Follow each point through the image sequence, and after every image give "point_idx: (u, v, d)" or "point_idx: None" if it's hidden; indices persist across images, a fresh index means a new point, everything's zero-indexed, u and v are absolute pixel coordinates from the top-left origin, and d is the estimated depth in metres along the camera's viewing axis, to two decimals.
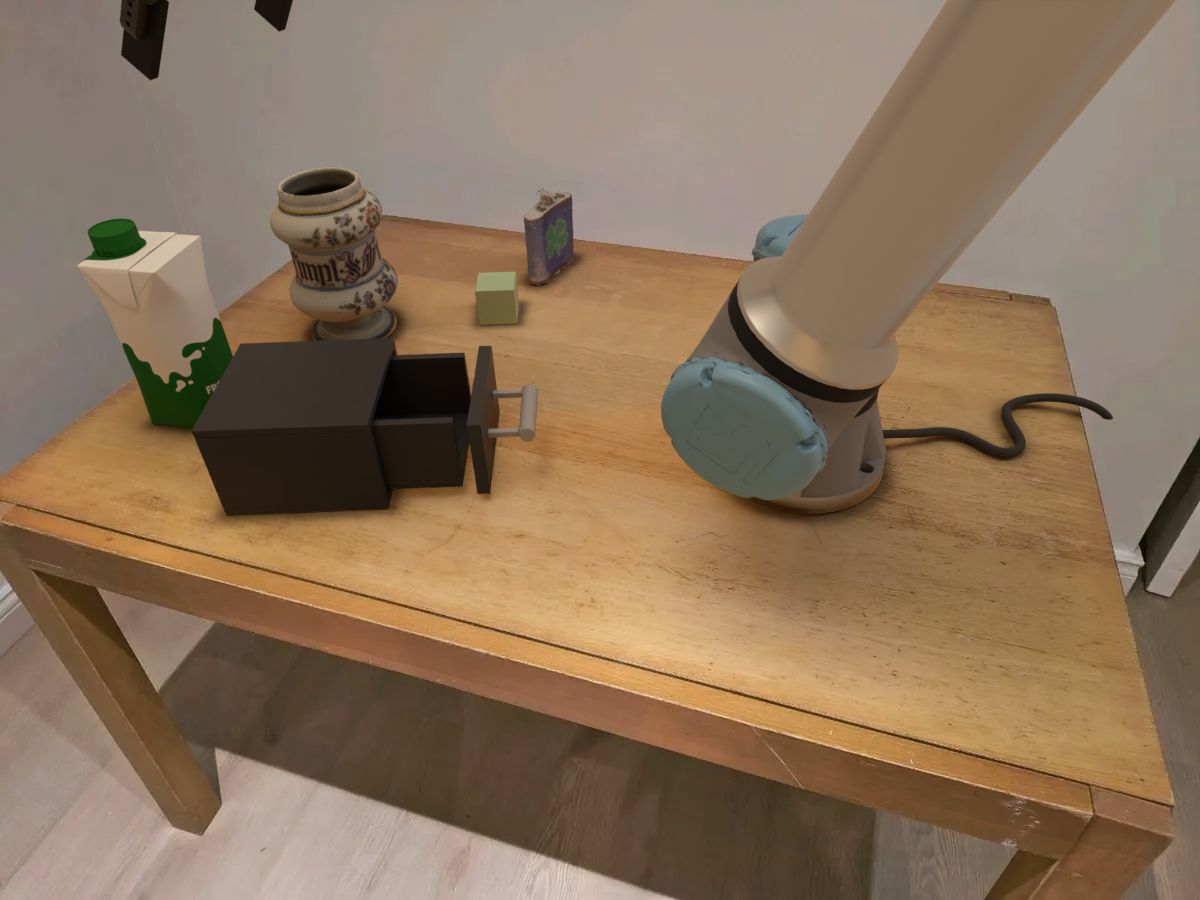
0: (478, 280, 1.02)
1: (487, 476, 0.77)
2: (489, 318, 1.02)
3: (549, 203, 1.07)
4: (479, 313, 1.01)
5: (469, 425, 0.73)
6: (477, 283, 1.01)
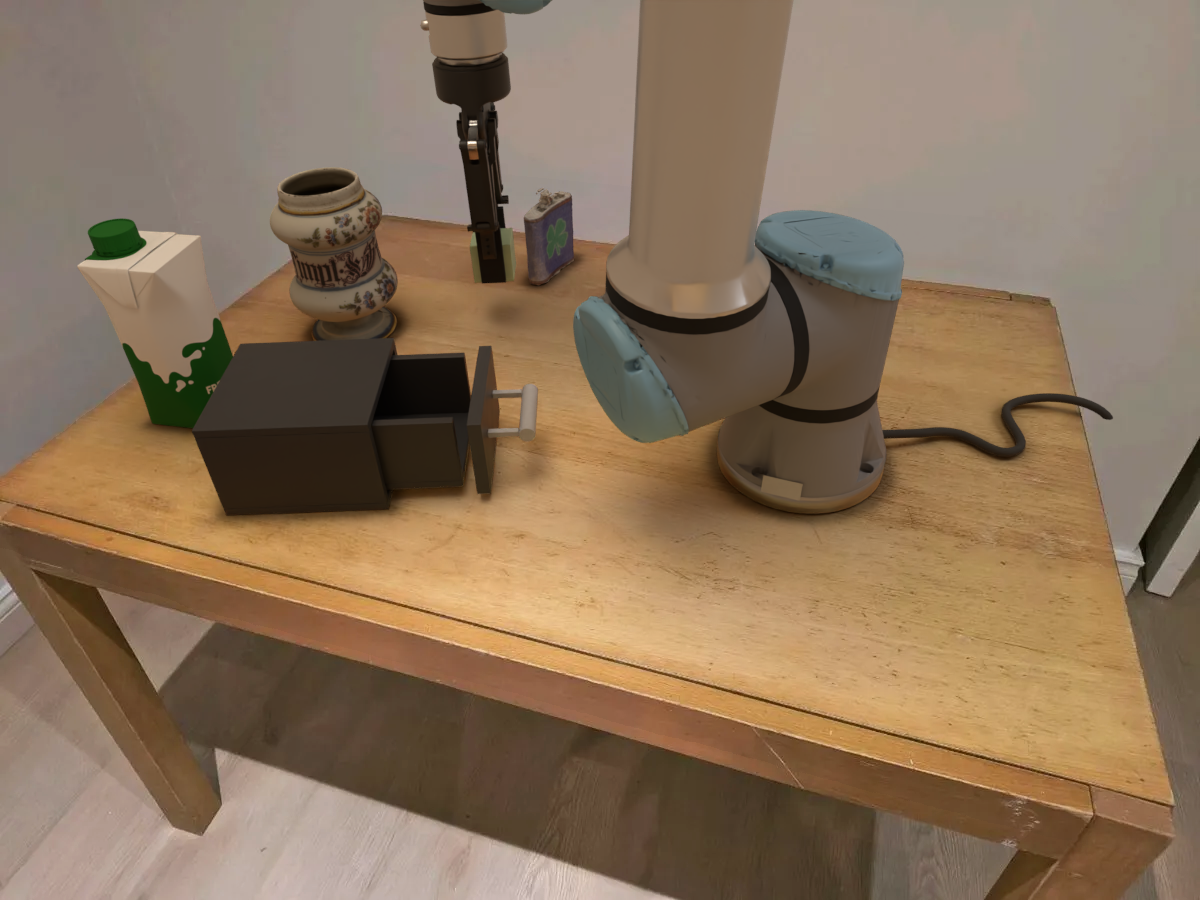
0: (473, 236, 0.98)
1: (487, 476, 0.77)
2: None
3: (549, 203, 1.07)
4: (474, 270, 0.98)
5: (469, 425, 0.73)
6: (472, 239, 0.97)
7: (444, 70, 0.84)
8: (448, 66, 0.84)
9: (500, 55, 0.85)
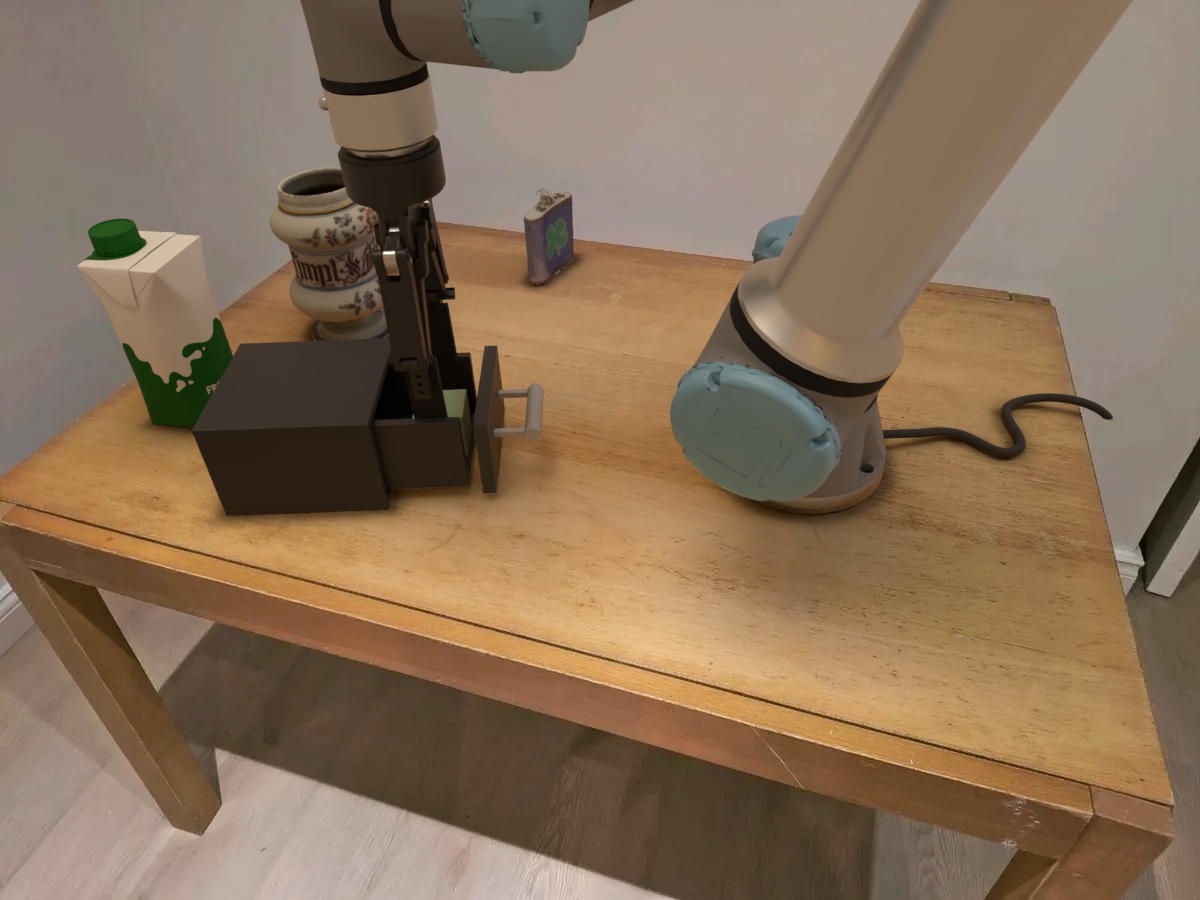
0: None
1: (493, 476, 0.77)
2: None
3: (549, 203, 1.07)
4: None
5: (475, 425, 0.73)
6: None
7: (352, 164, 0.62)
8: (356, 159, 0.62)
9: (428, 141, 0.63)
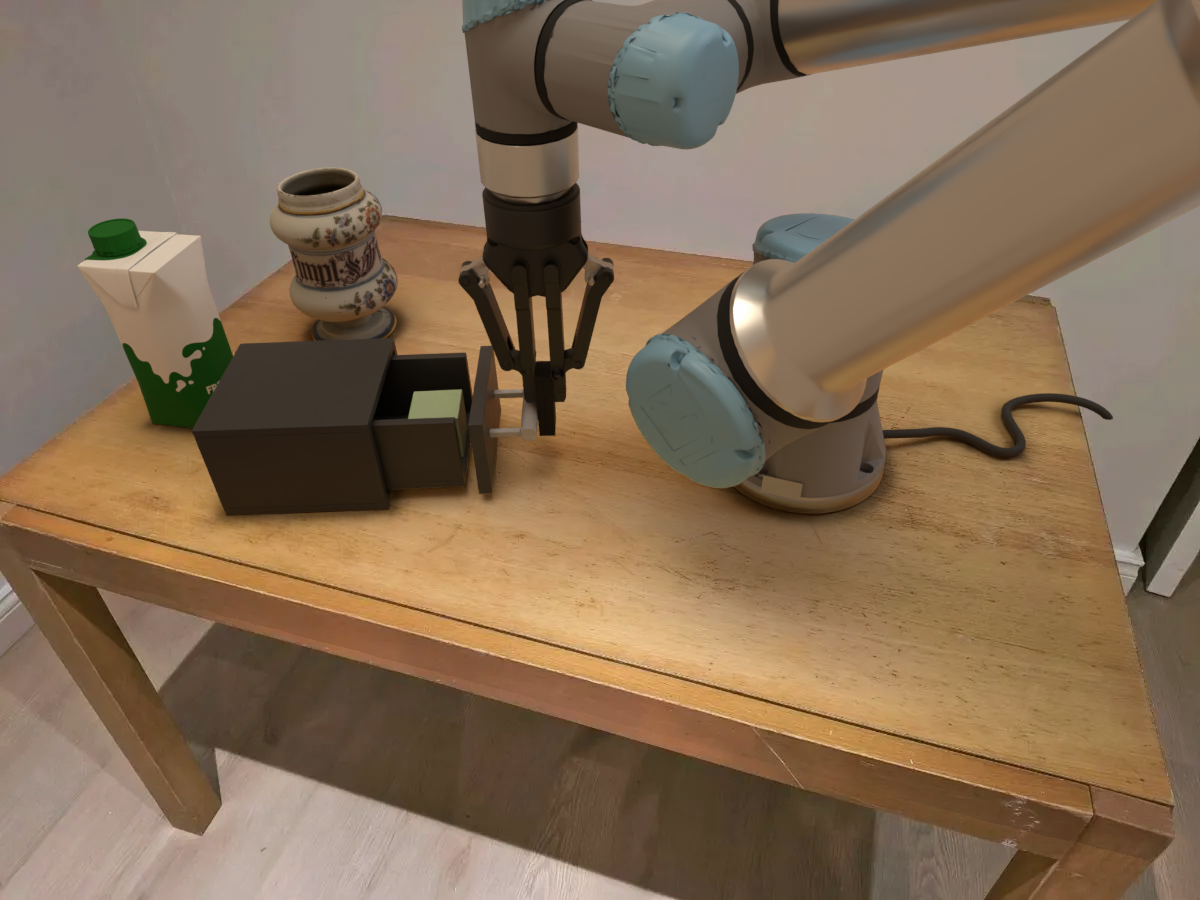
0: (413, 403, 0.79)
1: (489, 476, 0.77)
2: None
3: None
4: None
5: (471, 425, 0.73)
6: (411, 408, 0.79)
7: None
8: None
9: (519, 201, 0.64)
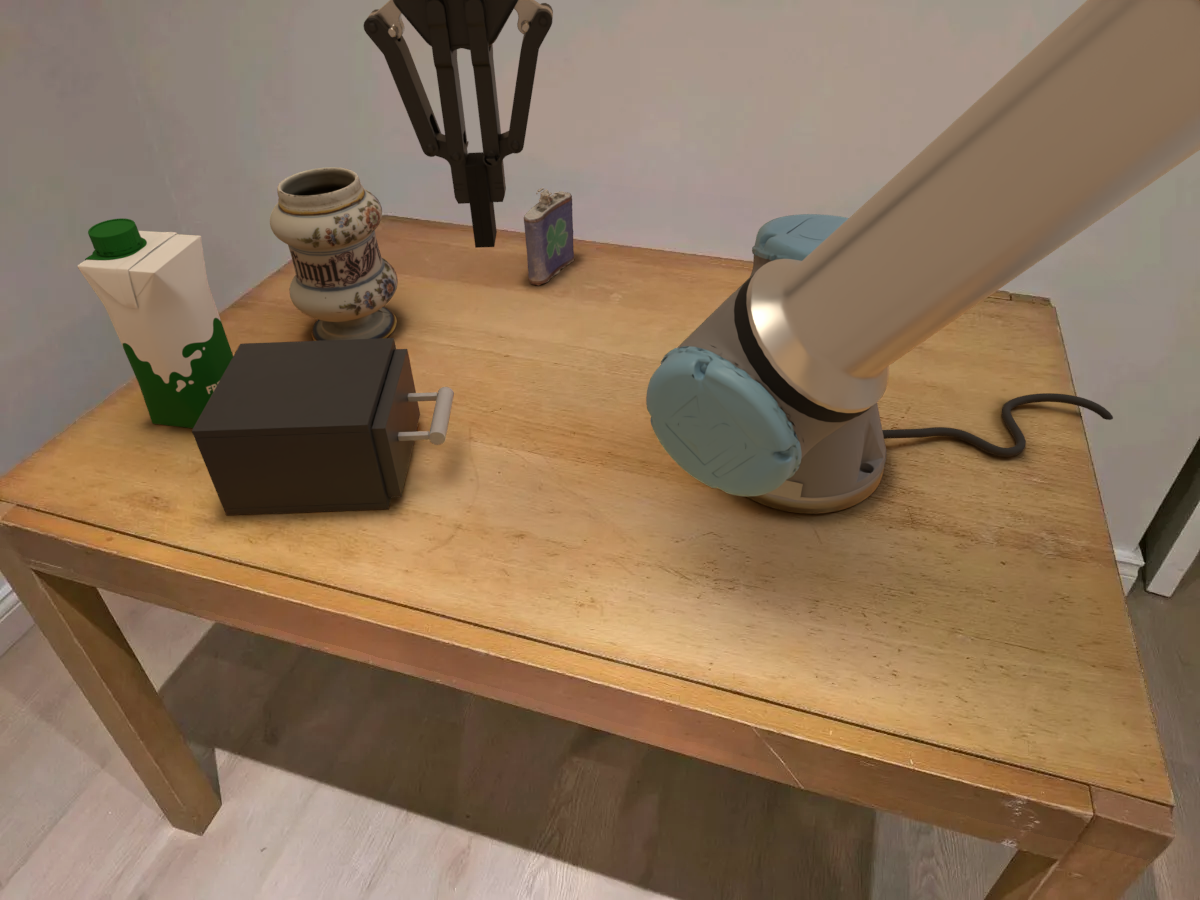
0: None
1: (396, 479, 0.77)
2: None
3: (549, 203, 1.07)
4: None
5: (374, 429, 0.73)
6: None
7: None
8: None
9: None
